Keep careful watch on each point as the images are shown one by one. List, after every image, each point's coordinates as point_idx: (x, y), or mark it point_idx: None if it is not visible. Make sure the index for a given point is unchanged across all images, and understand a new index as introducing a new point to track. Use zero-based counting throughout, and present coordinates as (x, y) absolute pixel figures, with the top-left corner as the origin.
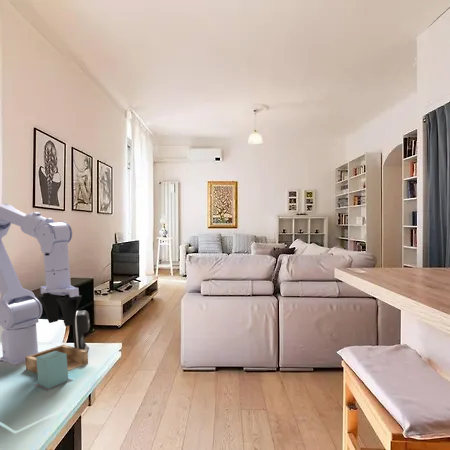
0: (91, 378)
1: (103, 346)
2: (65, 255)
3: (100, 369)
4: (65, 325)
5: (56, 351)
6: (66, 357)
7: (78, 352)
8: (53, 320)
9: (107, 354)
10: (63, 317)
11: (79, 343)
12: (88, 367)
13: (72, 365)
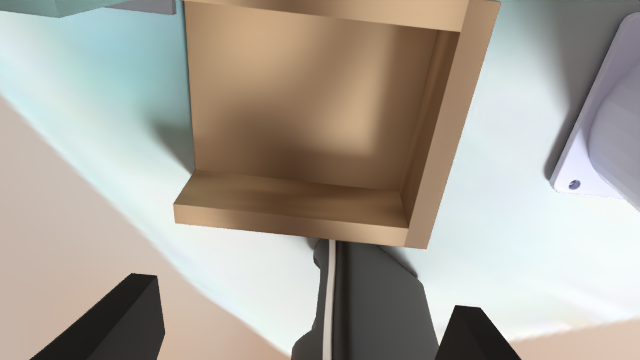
0: (2, 70)
1: None
2: None
3: (84, 162)
4: (142, 277)
5: (29, 3)
6: None
7: (232, 204)
8: (450, 344)
9: (235, 286)
10: (85, 343)
11: (325, 279)
12: (162, 159)
13: (239, 137)
